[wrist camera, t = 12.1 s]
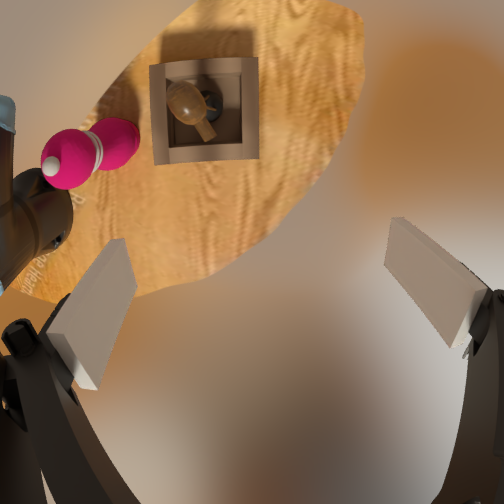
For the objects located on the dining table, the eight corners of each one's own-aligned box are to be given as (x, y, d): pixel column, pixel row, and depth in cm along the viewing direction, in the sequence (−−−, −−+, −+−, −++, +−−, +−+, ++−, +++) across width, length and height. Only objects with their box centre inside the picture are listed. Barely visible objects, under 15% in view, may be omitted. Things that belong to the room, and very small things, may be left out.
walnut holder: (164, 158, 38) (154, 165, 33) (160, 71, 32) (149, 65, 27) (254, 152, 39) (259, 159, 34) (253, 65, 33) (258, 57, 28)
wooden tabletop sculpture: (233, 118, 36) (236, 125, 18) (204, 136, 37) (180, 159, 19) (211, 84, 33) (193, 57, 16) (182, 102, 34) (137, 94, 16)
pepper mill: (91, 138, 36) (7, 167, 18) (125, 106, 34) (49, 109, 16) (117, 173, 39) (48, 223, 21) (153, 142, 37) (94, 171, 20)
